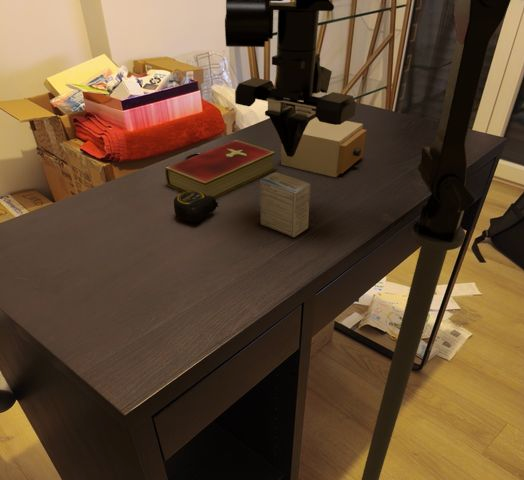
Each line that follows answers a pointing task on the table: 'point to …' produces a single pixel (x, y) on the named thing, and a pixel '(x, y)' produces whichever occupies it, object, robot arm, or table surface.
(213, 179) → the hardcover book
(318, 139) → the cabinet
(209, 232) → the table surface
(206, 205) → the tape measure
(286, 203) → the medicine box
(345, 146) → the drawer
